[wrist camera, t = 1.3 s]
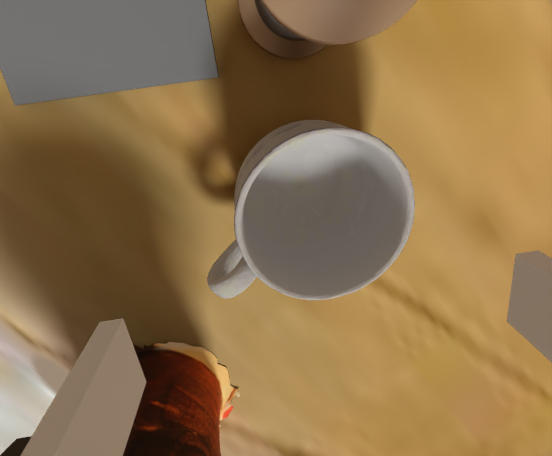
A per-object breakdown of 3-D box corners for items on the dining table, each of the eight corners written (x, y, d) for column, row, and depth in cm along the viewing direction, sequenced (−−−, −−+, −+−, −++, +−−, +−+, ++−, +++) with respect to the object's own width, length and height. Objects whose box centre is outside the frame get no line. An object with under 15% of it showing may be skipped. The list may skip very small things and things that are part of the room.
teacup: (343, 87, 26) (387, 90, 18) (388, 215, 30) (439, 260, 22) (169, 173, 27) (144, 209, 19) (237, 285, 31) (238, 350, 23)
